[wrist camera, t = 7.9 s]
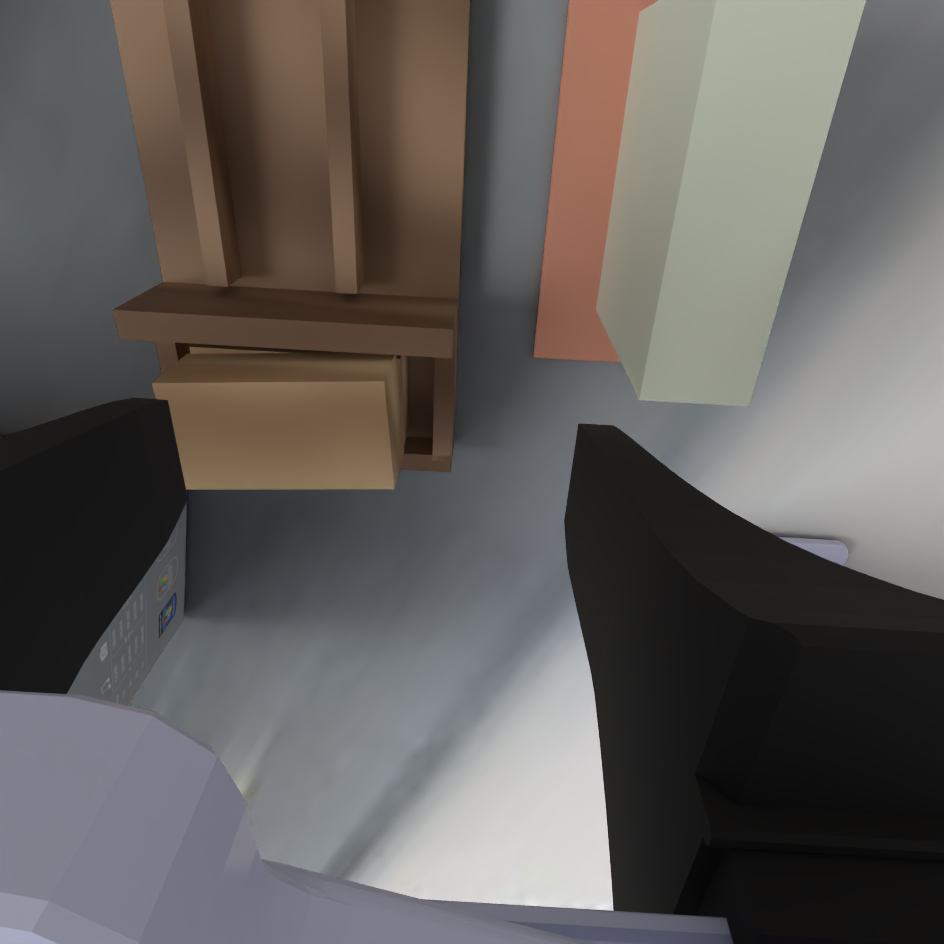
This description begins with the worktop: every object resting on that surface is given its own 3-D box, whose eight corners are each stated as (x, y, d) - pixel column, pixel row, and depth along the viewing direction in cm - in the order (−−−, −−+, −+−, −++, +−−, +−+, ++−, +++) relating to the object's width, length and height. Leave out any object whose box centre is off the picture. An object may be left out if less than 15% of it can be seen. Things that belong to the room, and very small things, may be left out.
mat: (715, 364, 21) (718, 367, 21) (533, 354, 21) (533, 357, 21) (822, -64, 16) (828, -66, 15) (576, -78, 16) (577, -80, 15)
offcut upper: (404, 451, 20) (394, 489, 18) (212, 452, 20) (181, 489, 18) (396, 351, 18) (384, 381, 16) (187, 353, 18) (151, 383, 17)
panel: (673, 313, 20) (749, 406, 14) (596, 309, 20) (639, 400, 14) (734, 17, 16) (874, -31, 10) (639, 12, 16) (724, -40, 10)
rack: (453, 443, 23) (446, 501, 20) (202, 429, 23) (153, 484, 20) (475, -110, 15) (469, -167, 12) (101, -131, 15) (-5, -192, 12)
